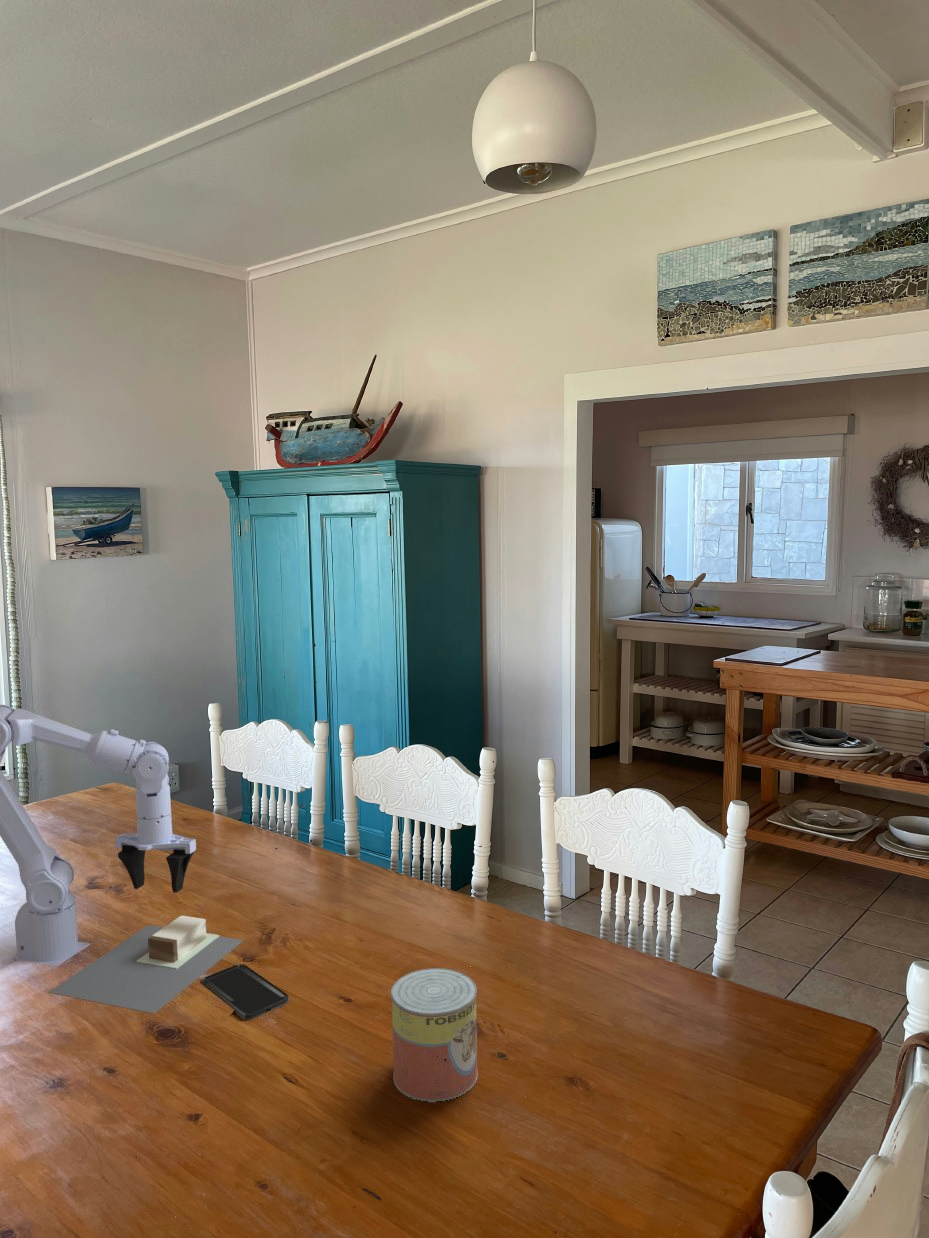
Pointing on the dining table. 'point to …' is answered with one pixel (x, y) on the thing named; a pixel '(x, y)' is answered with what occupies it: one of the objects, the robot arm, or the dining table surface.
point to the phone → (245, 991)
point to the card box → (177, 938)
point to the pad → (183, 959)
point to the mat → (140, 974)
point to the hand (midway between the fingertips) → (158, 888)
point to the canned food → (434, 1034)
